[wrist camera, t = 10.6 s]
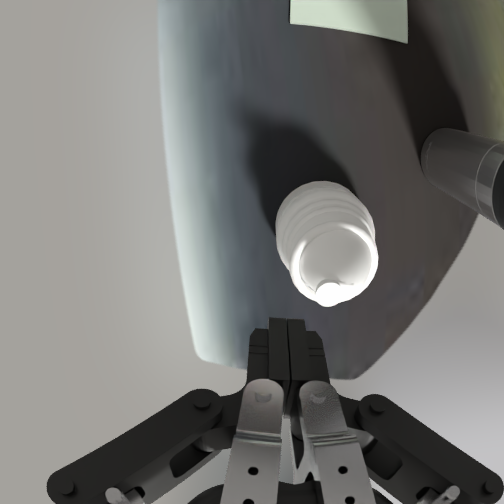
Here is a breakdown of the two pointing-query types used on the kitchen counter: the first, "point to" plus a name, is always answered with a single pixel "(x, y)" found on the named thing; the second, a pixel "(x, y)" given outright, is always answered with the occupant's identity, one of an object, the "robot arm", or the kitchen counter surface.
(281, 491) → the robot arm
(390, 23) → the mat
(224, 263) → the kitchen counter surface
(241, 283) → the kitchen counter surface
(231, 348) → the kitchen counter surface
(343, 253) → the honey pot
